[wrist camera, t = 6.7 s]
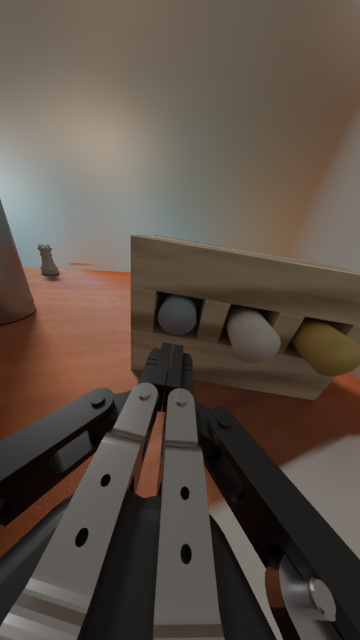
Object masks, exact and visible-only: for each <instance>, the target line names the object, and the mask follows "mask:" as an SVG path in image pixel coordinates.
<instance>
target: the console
mask: <svg viewBox="0 0 360 640" xmlns="http://www.w3.org/2000/svg"><path fill="white" fill-rule="evenodd" d="M167 293H171V294H177V295H183V296H188V297H194V298H195V299H196V324H195V326H194V328H193V329H192V330H191V331H190V332H188V333H186V334H184V335H172V334H169V333H167V332H166V331H164V330H163V329H162V327H161V326H160V324H159V322H158V313H159V310H160V308H161V306H162V304H163V302H164V300H165V297H166V295H167ZM238 305H241V306H247V307H253V308H256V309H257V311H258V312H259V313H260V314H261V315H262V316H263V318H264V319H265V320H266V321H267V322H268V324H269V325H270V326H271V327H272V328H273V329H274V331H275V332H276V333H277V334H278V336H279V337H280V341H281V345H280V348H279V350H278V352H277V353H276V354H275V355H274V356H273V357H272V358H270V359H269V360H267V361H264V362H261V363H246V362H243V361H241V360H240V359H238V358H237V357H236V355H235V353H234V350H233V348H232V345H231V342H230V339H229V336H228V333H227V330H226V327H225V324H224V322H225V319H226V316H227V313H228V311H229V310H230V309H232V308H233V307H235V306H238ZM305 317H311V318H317V319H321V320H323V321H324V322H326V323H327V324H329V325H330V326H332V327H333V328H335V329H336V330H338V331H339V332H341V333H342V334H344V335H345V336H347V337H348V338H350V339H351V340H353V341H355V342H356V343H358V344H359V345H360V272H357V271H352V270H348V269H343V268H339V267H334V266H330V265H324V264H318V263H312V262H307V261H301V260H295V259H289V258H283V257H278V256H272V255H266V254H260V253H254V252H249V251H243V250H237V249H232V248H225V247H220V246H214V245H209V244H203V243H197V242H191V241H185V240H180V239H174V238H168V237H162V236H156V235H131V370H136V371H142V372H143V369H144V366H145V364H146V361H147V359H148V356H149V353H150V352H151V351H152V350H153V349H154V348H157V349H161V347H162V344H163V342H165V343H171V344H173V345H174V344H177V345H183V346H184V347H183V353H187V354H190V355H191V357H192V359H193V366H192V367H193V371H192V372H193V380H195V381H201V382H207V383H213V384H219V385H225V386H231V387H236V388H242V389H248V390H254V391H260V392H266V393H272V394H278V395H284V396H290V397H296V398H301V399H307V400H313V401H314V400H315V399H316V398H317V397H318V396H319V395H320V394H321V393H322V392H323V391H324V389H325V388H326V387H327V386H328V385H329V384H330V383H331V382H332V381H333V380H334V378H335V377H336V376H323V375H320V374H318V373H317V372H316V371H315V370H314V369H313V368H312V367H311V366H310V365H309V363H308V362H307V361H306V360H305V359H304V358H303V357H302V356H301V354H300V353H299V352H298V351H297V350H296V349H295V348H294V347H293V346H292V344H291V343H290V341H291V339H292V337H293V336H294V334H295V332H296V331H297V329H298V328H299V326H300V324H301V323H302V321H303V319H304V318H305ZM172 351H173V347H172ZM171 357H172V353H171ZM170 362H171V359H170ZM169 368H170V365H169ZM168 373H169V371H168Z"/></svg>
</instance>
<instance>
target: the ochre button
mask: <svg viewBox="0 0 360 640" xmlns="http://www.w3.org/2000/svg"><path fill="white" fill-rule="evenodd" d="M290 343H291V344H292V346H293V347H294V348H295V349H296V350H297V351H298V352H299V353H300V354H301V356H302V357H303V358H304V359H305V360H306V361H307V362H308V363H309V365H310V366H311V367H312V368H313V369H314V370H315V371H316V372H317V373H318V374H320V375H323V376H339V375H343V374H346V373H348V372H350V371H352V370H354V369H355V368H357V367H358V366H359V365H360V345H359V344H358V343H356V342H355V341H353V340H351V339H350V338H348V337H347V336H345V335H344V334H342V333H341V332H339V331H338V330H336V329H335V328H333V327H332V326H330V325H329V324H327V323H326V322H324V321H323V320H321V319H317V318H311V317H305V318H304V319H303V321H302V323H301V324H300V326H299V328H298V329H297V331H296V332H295V334H294V336H293V337H292V339H291V341H290Z"/></svg>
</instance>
